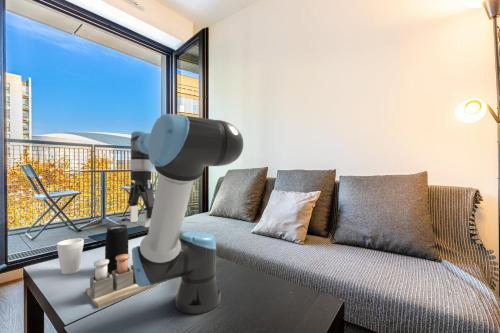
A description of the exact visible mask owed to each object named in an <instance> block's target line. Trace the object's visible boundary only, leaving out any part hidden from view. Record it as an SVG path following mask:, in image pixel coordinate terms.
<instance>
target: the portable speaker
mask: <svg viewBox="0 0 500 333" xmlns="http://www.w3.org/2000/svg"><path fill="white" fill-rule="evenodd" d="M128 231H129V230H128V225H127V224H119V225H108V226H107V227H106V234H105V239H104V241H105V243H104V248H105V249H104V259H108V260H109V264H107V272H108V273H109V274H110V275H112V271H114V270H117V260H116V256H118V255H121V254H129V234H128Z"/></svg>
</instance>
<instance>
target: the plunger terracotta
mask: <svg viewBox="0 0 500 333" xmlns="http://www.w3.org/2000/svg"><path fill="white" fill-rule="evenodd" d="M129 259H130V254H129V253H128V254H121V255H118V256H116V260H117V274H118V275H119V274H122V273H126V272H128V267H129Z"/></svg>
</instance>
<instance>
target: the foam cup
mask: <svg viewBox="0 0 500 333" xmlns="http://www.w3.org/2000/svg"><path fill="white" fill-rule="evenodd" d="M84 245H85V239H84V238H79V237H78V238H69V239H65V240H61V241H59V242H57V243H56V250H57V255H58V261H59V266H60V272H61V275H71V274H74V273H77V272H79V270H80V267H81V263H82V262H81V261H82V256H83V249H84Z"/></svg>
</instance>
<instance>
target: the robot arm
mask: <svg viewBox="0 0 500 333" xmlns="http://www.w3.org/2000/svg"><path fill="white" fill-rule="evenodd" d="M243 149H244V139H243V135H242V133H241V132H240V130H239V129H238V128H237V127H236V126H235V125H234V124H231V123H230V122H227V121H225V120H219V119H211V118H205V117H199V116H198V117H197V116H191V115H185V114H173V113H165V114H162V115H161V116H159V117H158V118H157V119H156V121H155V122H154V124H153V126H152V129H151V130H150V132H148V131H145V130H143V131H140V130H136V131H132V132H131V136H130V170H131V171H130V180H131V181H133V182H130V190H129V194H128V199H127V200H128V201H127V205H129V206H130V208H129V211H130V212H129V216H130V217H129V218H130V220H129V223H134V222H138V221H139V220H138V219H139V217H138V216H139V211H138V210H139V203H138V202H139V199H140V197H141V198H142V201H143V204H144V209H143V210H144V228H148V232H147V234H146V235H145V236H144V237H143V238H142V240H141V241H140V245H136V246H135V247H132V249H131V257H132V265H133V268H134V274H135V279H136V283H137V285H138V286H139V287H144V286H149V285H150V286H152V285H154V284H157V285H158V284H160V283H163V282H168V281H171V280H174V279H178V278H180V283H179V286H178V289H177V292H176V295H175V307H176V309H177V310H178V311H180V312H182V313H184V314H190V315H197V314H203V313H207V312H210V311H212V310H213V309H215V308H216V307H218V305H219V304H220V303H221V295H222V294H221V293H222V292H221V289H220V287H219V284H218V280H217V278H216V277H217V276H216V272H217V271H216V270H217V268H216V266H217V262H216V260H217V254H216V253H217V242H216V237H215V236H214V235H213V234H211V233H208V232H203V231H194V230H193V231H185V232H183V233H181V231H182V226H183V222H184V219H185V216H186V212H187V208H188V204H189V201H190V198H191V193H192V190H193V186H194V182H196V181H198V180H199V179H201V177H202V176H203V173H204V169H205V168H206V167H223V166H227V165H230V164H232V163H233V162H235V161H237V160H238V159H239V157H240V156H241V154H242V153H243ZM152 165H153V166H154V170H155V172H156V173H158V180H157V185H156V190H155V194H154V191H153V183H152V182H148V181H151V180H152V171H151V170H152ZM180 234H181V235H180ZM179 237H180V238H179Z"/></svg>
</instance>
